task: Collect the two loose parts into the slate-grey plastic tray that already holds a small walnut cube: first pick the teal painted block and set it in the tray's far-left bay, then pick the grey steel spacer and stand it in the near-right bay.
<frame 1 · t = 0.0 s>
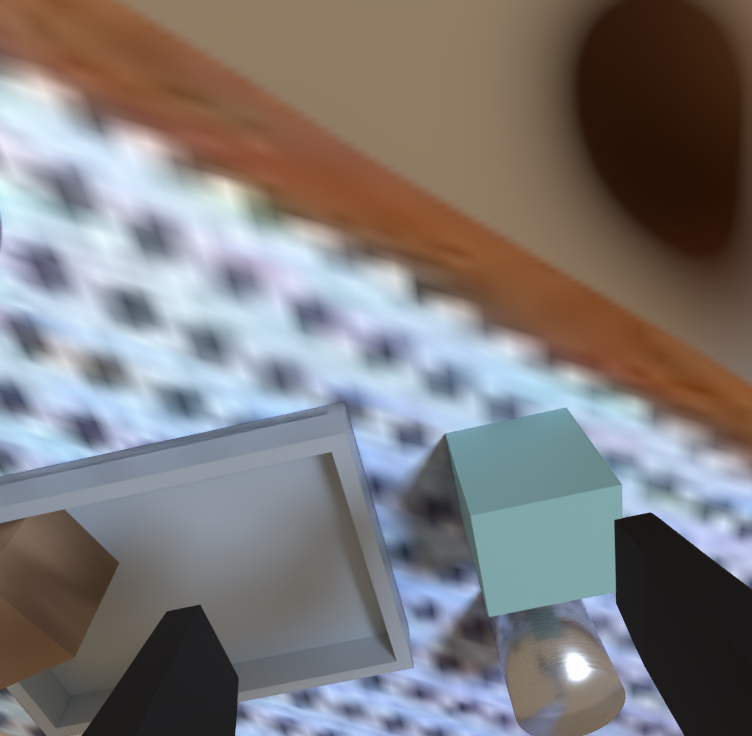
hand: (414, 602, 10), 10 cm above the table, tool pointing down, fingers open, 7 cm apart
tray: (188, 567, 22), on the table
steel spacer: (527, 593, 24), on the table
teal block: (511, 467, 21), on the table
walnut cube: (41, 548, 21), point 1 cm above the table, touching tray
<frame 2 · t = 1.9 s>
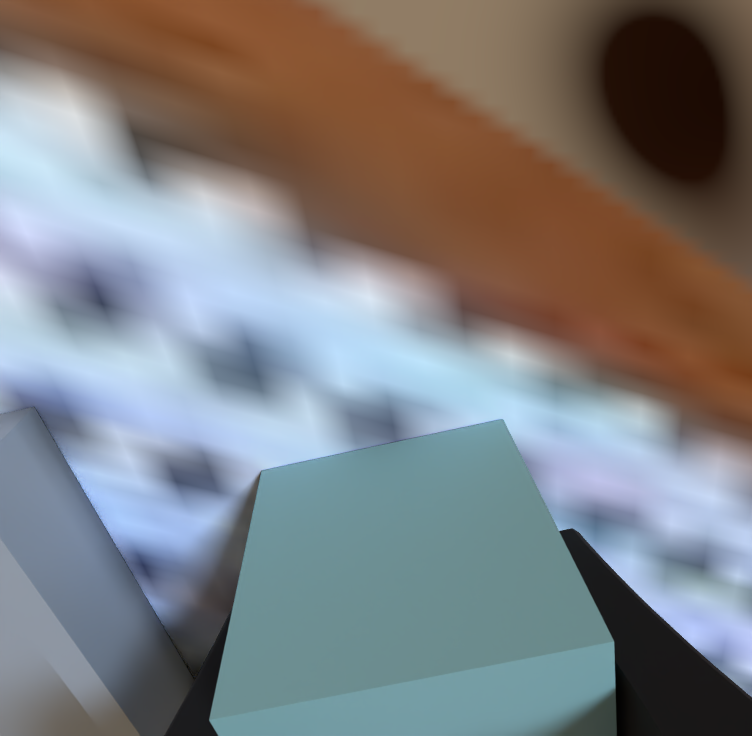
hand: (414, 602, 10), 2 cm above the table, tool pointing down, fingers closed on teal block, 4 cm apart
teal block: (404, 535, 11), on the table, touching gripper
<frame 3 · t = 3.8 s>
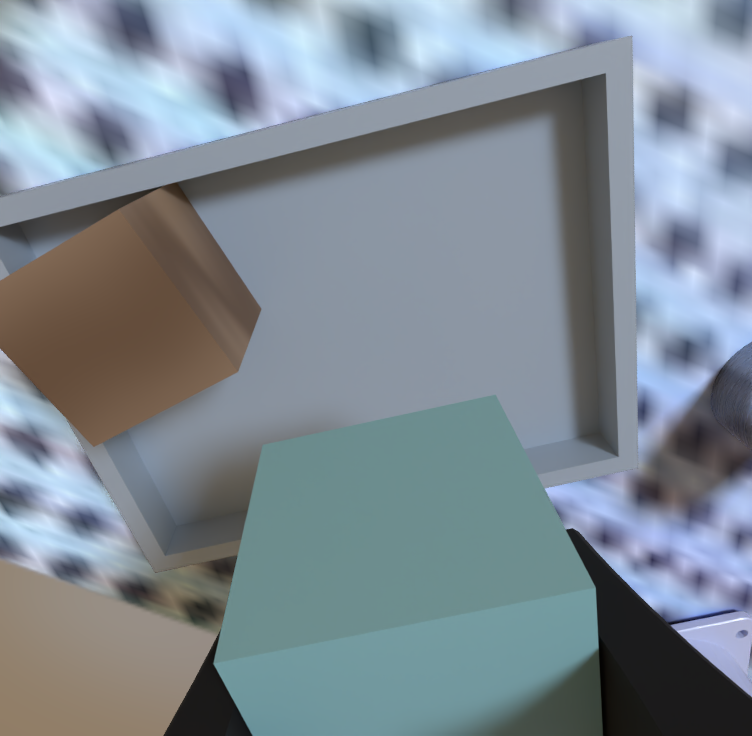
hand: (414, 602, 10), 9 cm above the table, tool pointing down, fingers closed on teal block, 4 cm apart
tray: (344, 331, 17), on the table
teal block: (400, 510, 11), point 7 cm above the table, touching gripper
walnut cube: (160, 282, 15), point 1 cm above the table, touching tray
when the fingers open (3 cm above the table, at t = 5.6 s): teal block stays where it is, resting on tray.
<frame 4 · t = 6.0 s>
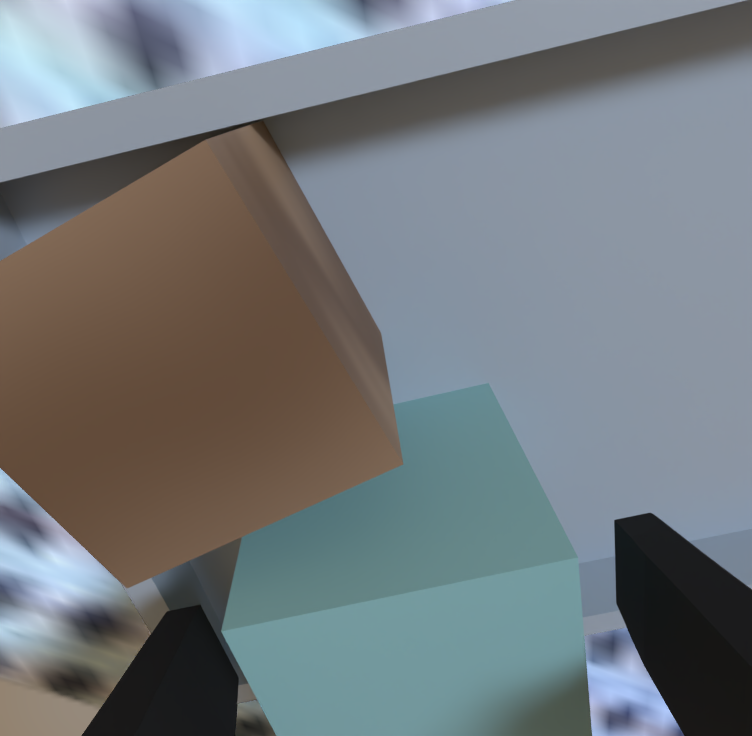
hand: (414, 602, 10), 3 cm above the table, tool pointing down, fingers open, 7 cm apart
tray: (493, 365, 11), on the table
teal block: (398, 495, 12), point 1 cm above the table, touching tray
walnut cube: (226, 290, 10), point 1 cm above the table, touching tray
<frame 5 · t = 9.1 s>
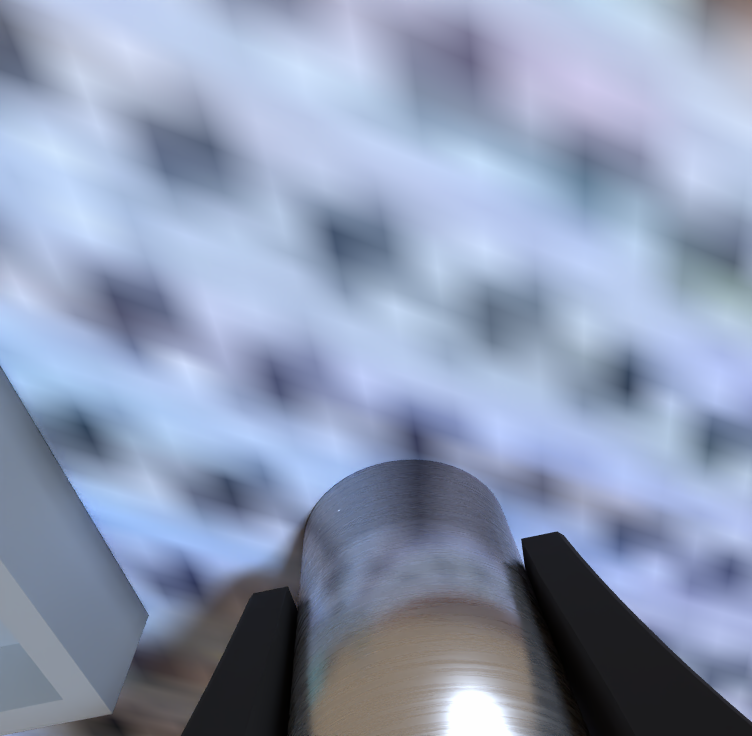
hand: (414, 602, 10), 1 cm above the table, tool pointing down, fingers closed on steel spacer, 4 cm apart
steel spacer: (405, 543, 11), on the table, touching gripper
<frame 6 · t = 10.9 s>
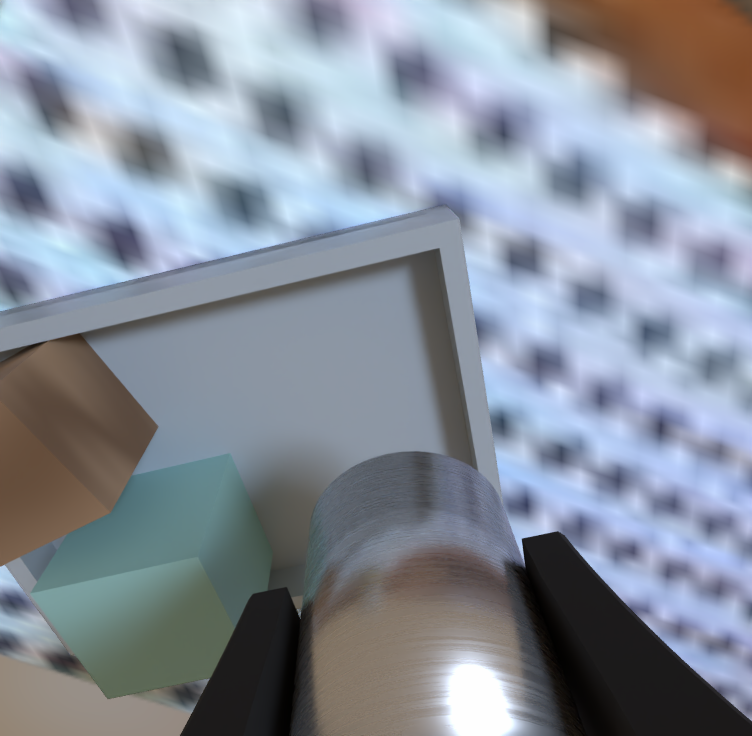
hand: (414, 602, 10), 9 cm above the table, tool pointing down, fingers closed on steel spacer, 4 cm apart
tray: (240, 440, 18), on the table
steel spacer: (407, 531, 11), point 7 cm above the table, touching gripper
teal block: (190, 519, 19), point 1 cm above the table, touching tray
walnut cube: (63, 405, 17), point 1 cm above the table, touching tray
when the fingers open (3 cm above the table, at t = 12.7 s): steel spacer stays where it is, resting on tray.
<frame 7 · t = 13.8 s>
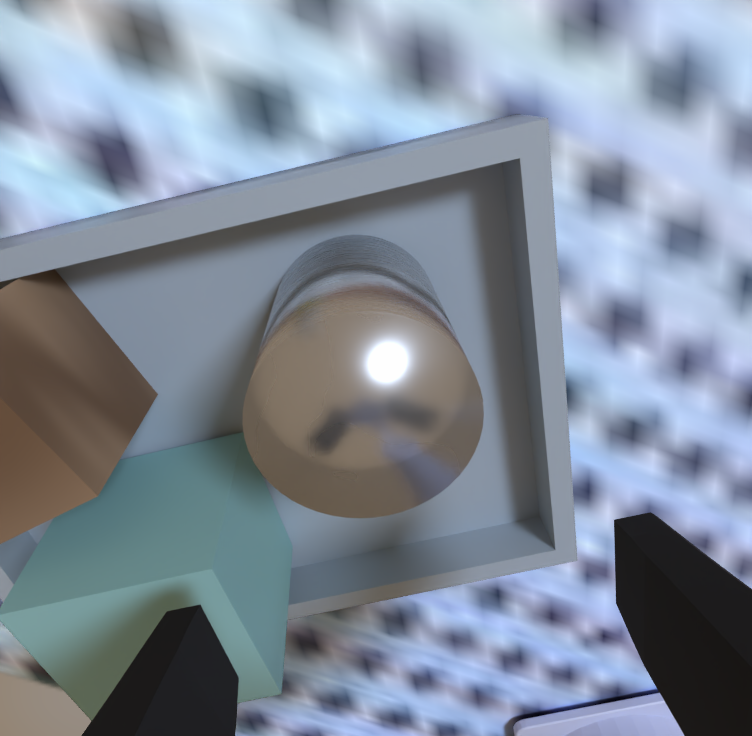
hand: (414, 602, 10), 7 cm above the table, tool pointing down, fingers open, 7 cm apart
tray: (256, 412, 15), on the table
steel spacer: (356, 315, 14), point 1 cm above the table, touching tray
teal block: (194, 509, 16), point 1 cm above the table, touching tray
walnut cube: (41, 367, 14), point 1 cm above the table, touching tray
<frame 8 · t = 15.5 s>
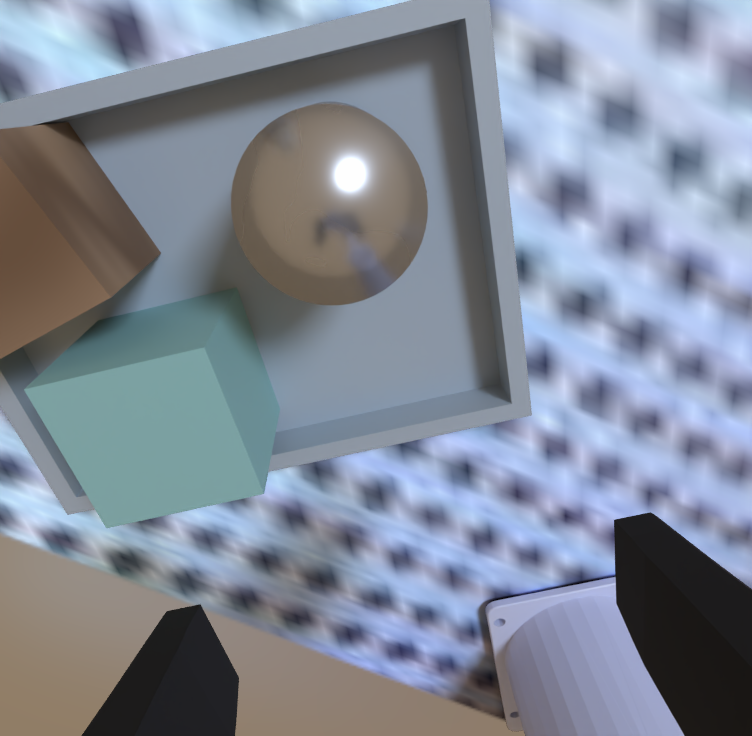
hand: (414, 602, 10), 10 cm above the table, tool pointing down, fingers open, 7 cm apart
tray: (247, 278, 17), on the table
steel spacer: (333, 179, 16), point 1 cm above the table, touching tray
teal block: (193, 366, 18), point 1 cm above the table, touching tray
walnut cube: (60, 224, 16), point 1 cm above the table, touching tray
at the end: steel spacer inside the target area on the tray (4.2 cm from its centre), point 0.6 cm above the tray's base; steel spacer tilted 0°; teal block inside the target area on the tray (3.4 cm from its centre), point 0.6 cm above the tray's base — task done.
